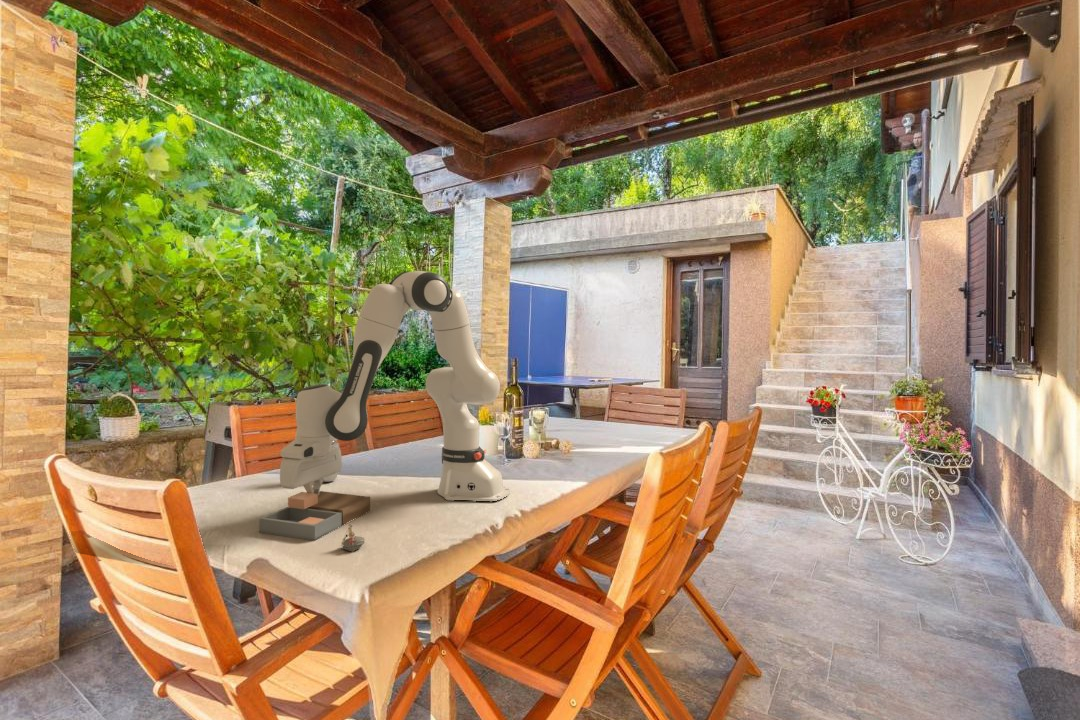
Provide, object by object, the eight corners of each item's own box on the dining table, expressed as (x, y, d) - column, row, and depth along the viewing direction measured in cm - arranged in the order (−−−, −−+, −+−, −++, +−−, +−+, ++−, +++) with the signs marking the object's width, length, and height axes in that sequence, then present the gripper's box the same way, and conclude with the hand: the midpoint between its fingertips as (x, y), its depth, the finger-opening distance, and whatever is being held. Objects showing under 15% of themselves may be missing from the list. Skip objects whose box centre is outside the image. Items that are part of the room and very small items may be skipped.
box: (341, 526, 135) (341, 512, 135) (314, 540, 125) (314, 526, 125) (288, 519, 139) (288, 506, 139) (259, 532, 130) (259, 518, 130)
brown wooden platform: (369, 511, 147) (370, 496, 147) (342, 525, 136) (342, 510, 135) (320, 504, 151) (320, 491, 151) (290, 518, 140) (290, 503, 140)
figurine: (367, 543, 124) (363, 519, 123) (364, 552, 119) (359, 526, 119) (344, 548, 123) (339, 523, 122) (339, 556, 119) (335, 531, 118)
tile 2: (311, 526, 127) (311, 536, 127) (326, 519, 131) (326, 529, 131) (295, 523, 128) (295, 533, 128) (309, 516, 133) (309, 526, 133)
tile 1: (317, 503, 140) (317, 493, 140) (304, 509, 136) (304, 499, 135) (302, 501, 142) (301, 491, 142) (288, 507, 137) (288, 497, 137)
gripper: (329, 437, 153) (328, 485, 153) (275, 451, 133) (275, 506, 134) (347, 439, 151) (347, 487, 152) (296, 453, 131) (296, 509, 132)
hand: (313, 496), depth 142 cm, fingers closed
